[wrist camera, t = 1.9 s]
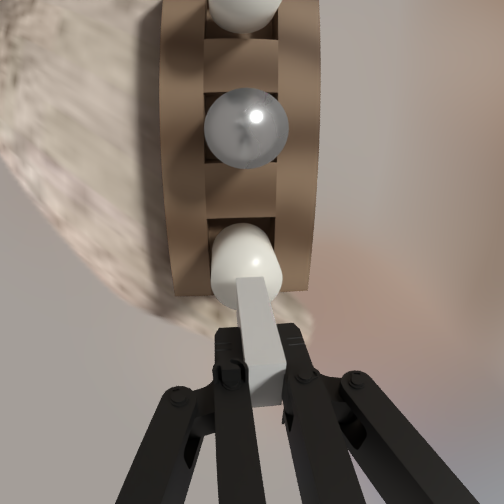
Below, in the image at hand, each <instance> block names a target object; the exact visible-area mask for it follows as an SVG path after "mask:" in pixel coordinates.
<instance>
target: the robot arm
mask: <svg viewBox="0 0 504 504" xmlns="http://www.w3.org/2000/svg"><path fill="white" fill-rule="evenodd" d="M236 304H237V324H238V327H229V328H219V329H218V331H217V332H216V334H215V364H214V366H213V369H212V372H213V381H212V382H211V383H210V384H209V385H207V386H206V387H204V388H201V389H198V390H194V391H192V390H191V389H190V388H187V387H184V386H176V387H172V388H170V389H168V390H167V391H166V392H165V393H164V394H163V396H162V398H161V400H160V402H159V404H158V407H157V409H156V411H155V413H154V415H153V418H152V420H151V422H150V424H149V427H148V429H147V431H146V433H145V436H144V438H143V440H142V442H141V445H140V447H139V449H138V451H137V454H136V456H135V459H134V461H133V463H132V465H131V468H130V470H129V472H128V474H127V477H126V479H125V481H124V484H123V486H122V488H121V491H120V493H119V495H118V498H117V500H116V503H115V504H184V501H185V498H186V495H187V492H188V488H189V485H190V482H191V478H192V475H193V472H194V468H195V465H196V462H197V458H198V455H199V452H200V448H201V445H202V442H203V438H204V436H205V435H209V434H212V433H215V436H216V462H217V481H218V498H219V504H266V501H265V493H264V487H263V481H262V474H261V467H260V460H259V453H258V446H257V439H256V432H255V425H254V418H253V410H252V407H264V406H274V405H281V402H282V401H283V405H284V410H283V418H282V424H284V423H285V426H286V431H287V435H288V440H289V445H290V449H291V454H292V459H293V463H294V468H295V472H296V477H297V482H298V486H299V491H300V496H301V500H302V504H366V502H365V499H364V496H363V493H362V490H361V487H360V484H359V481H358V478H357V475H356V473H355V470H354V466H353V464H352V461H351V458H350V455H349V452H348V450H349V451H350V453H351V454H352V456H353V457H354V459H355V460H356V461H357V463H358V464H359V466H360V467H361V469H362V470H363V472H364V473H365V474H366V476H367V477H368V479H369V480H370V482H371V483H372V484H373V486H374V487H375V489H376V490H377V491H378V493H379V494H380V496H381V497H382V498H383V500H384V501H385V503H386V504H480V503H479V502H478V501H477V500H476V499H475V498H474V496H473V495H472V494H471V493H470V492H469V490H468V489H467V488H466V487H465V486H464V485H463V483H462V482H461V481H460V480H459V479H458V478H457V476H456V475H455V474H454V473H453V472H452V471H451V470H450V468H449V467H448V466H447V465H446V464H445V462H444V461H443V460H442V459H441V458H440V457H439V456H438V454H437V453H436V452H435V451H434V450H433V449H432V447H431V446H430V445H429V444H428V443H427V442H426V440H425V439H424V438H423V437H422V436H421V435H420V434H419V433H418V431H417V430H416V429H415V428H414V427H413V425H412V424H411V423H410V422H409V421H408V420H407V419H406V417H405V416H404V415H403V414H402V413H401V412H400V411H399V410H398V408H397V407H396V406H395V405H394V404H393V402H392V401H391V400H390V399H389V398H388V397H387V396H386V394H385V393H384V392H383V391H382V390H381V389H380V388H379V386H378V385H377V384H376V383H375V382H374V381H373V380H372V378H371V377H370V376H369V375H367V374H366V373H364V372H361V371H349V372H347V373H346V374H344V375H343V377H342V378H336V377H328V376H325V375H322V374H320V372H319V371H318V370H317V369H315V368H314V367H313V365H312V362H311V359H310V357H309V354H308V351H307V348H306V345H305V343H304V340H303V338H302V334H301V331H300V329H299V328H298V327H297V326H296V325H295V324H294V323H284V324H276V322H275V318H274V314H273V311H272V307H271V303H270V300H269V296H268V292H267V288H266V285H265V281H264V277H242V278H236Z"/></svg>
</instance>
